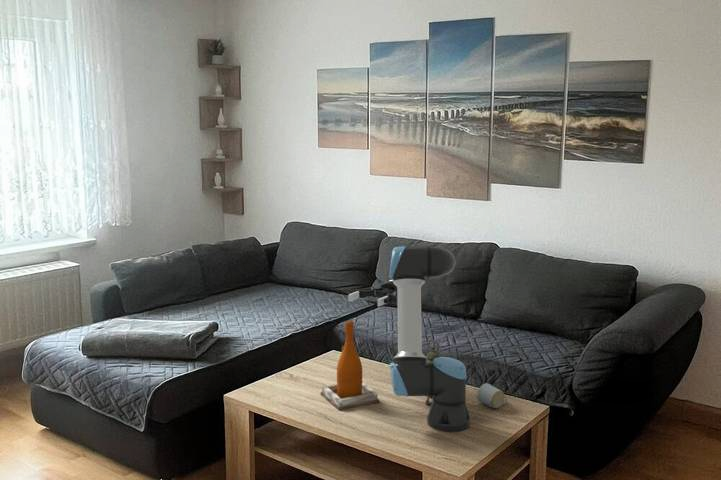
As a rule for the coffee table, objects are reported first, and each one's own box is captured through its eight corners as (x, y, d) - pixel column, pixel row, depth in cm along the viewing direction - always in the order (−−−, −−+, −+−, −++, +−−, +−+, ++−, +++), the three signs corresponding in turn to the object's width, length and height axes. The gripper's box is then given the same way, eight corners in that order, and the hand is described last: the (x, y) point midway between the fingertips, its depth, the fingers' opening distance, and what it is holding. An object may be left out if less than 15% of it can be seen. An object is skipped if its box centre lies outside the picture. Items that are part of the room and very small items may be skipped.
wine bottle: (363, 391, 298) (363, 317, 293) (361, 401, 289) (361, 325, 283) (338, 390, 299) (338, 317, 294) (335, 400, 290) (334, 324, 284)
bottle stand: (379, 402, 290) (379, 393, 290) (338, 410, 283) (338, 401, 282) (359, 387, 305) (359, 379, 305) (320, 394, 298) (320, 386, 297)
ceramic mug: (492, 411, 282) (493, 391, 281) (476, 404, 288) (477, 385, 287) (511, 405, 288) (512, 386, 287) (496, 398, 295) (497, 379, 293)
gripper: (418, 302, 307) (390, 314, 289) (366, 294, 320) (337, 305, 303) (418, 284, 305) (391, 295, 288) (366, 276, 319) (337, 286, 302)
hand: (363, 300), depth 296 cm, fingers open, 13 cm apart
